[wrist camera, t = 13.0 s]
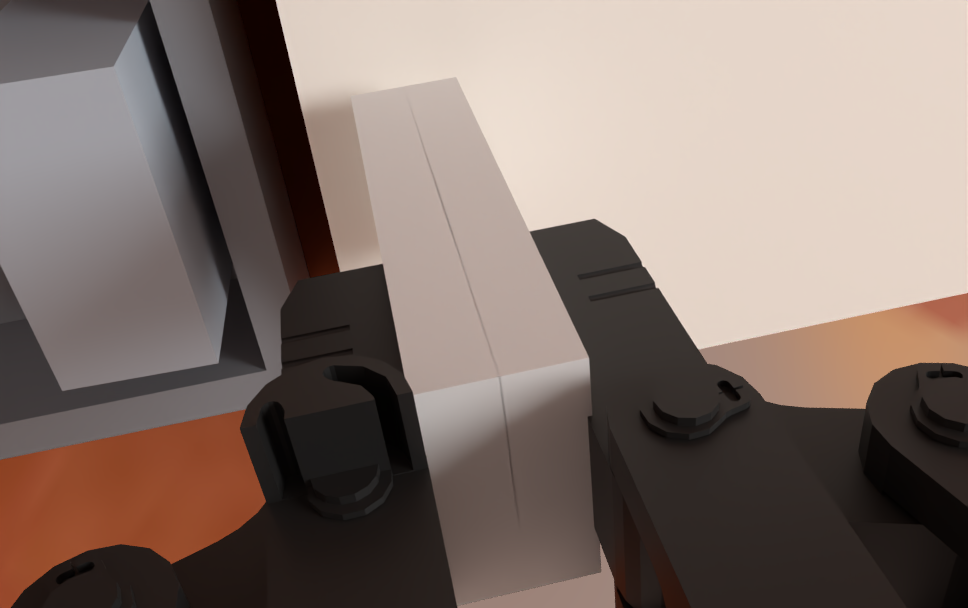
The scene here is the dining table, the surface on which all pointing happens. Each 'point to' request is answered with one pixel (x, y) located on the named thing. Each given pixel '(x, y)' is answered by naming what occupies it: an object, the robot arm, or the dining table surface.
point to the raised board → (684, 137)
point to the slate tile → (105, 195)
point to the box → (251, 243)
